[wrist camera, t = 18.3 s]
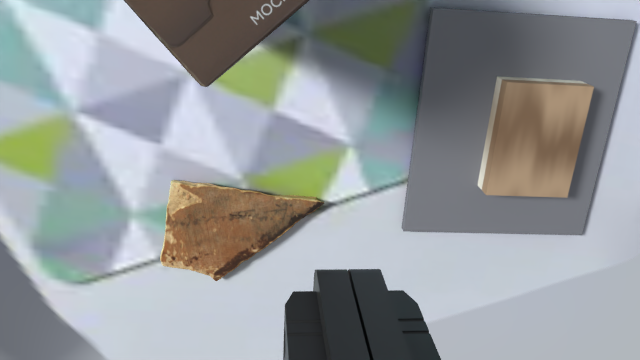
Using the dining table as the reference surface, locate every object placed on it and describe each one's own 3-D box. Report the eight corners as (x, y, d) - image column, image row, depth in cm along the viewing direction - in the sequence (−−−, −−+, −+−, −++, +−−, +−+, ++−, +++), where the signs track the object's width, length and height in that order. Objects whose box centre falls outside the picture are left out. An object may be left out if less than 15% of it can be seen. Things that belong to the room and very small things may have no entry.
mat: (430, 7, 39) (433, 8, 39) (631, 20, 41) (636, 21, 40) (401, 227, 45) (403, 231, 44) (578, 231, 46) (581, 234, 46)
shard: (322, 194, 44) (325, 204, 42) (303, 283, 47) (304, 296, 45) (172, 171, 42) (169, 180, 41) (161, 265, 45) (157, 277, 43)
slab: (507, 82, 39) (593, 86, 40) (497, 76, 41) (580, 80, 41) (485, 195, 42) (567, 197, 43) (477, 185, 44) (555, 187, 44)
